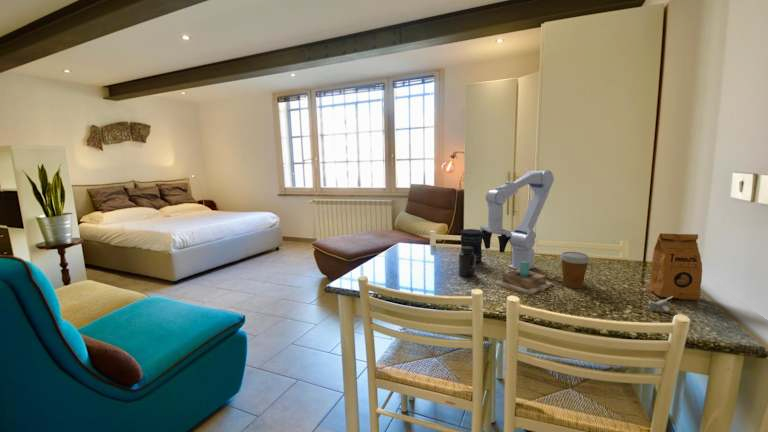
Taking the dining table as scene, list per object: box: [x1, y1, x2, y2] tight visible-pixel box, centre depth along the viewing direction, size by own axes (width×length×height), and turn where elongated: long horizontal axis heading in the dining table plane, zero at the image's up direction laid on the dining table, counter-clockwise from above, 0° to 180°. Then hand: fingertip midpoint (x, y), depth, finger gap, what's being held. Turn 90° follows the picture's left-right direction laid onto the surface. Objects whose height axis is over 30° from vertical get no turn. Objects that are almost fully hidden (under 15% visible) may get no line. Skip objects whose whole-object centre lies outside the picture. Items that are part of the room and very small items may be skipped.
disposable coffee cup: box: [559, 251, 590, 289], centre depth 127 cm, size 10×10×12 cm
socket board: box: [494, 269, 554, 296], centre depth 130 cm, size 16×14×4 cm
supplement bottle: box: [458, 246, 476, 278], centre depth 142 cm, size 7×7×12 cm
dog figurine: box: [647, 296, 674, 313], centre depth 105 cm, size 3×8×6 cm
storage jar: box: [460, 228, 483, 266], centre depth 160 cm, size 10×10×15 cm
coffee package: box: [648, 232, 703, 301], centre depth 115 cm, size 10×12×22 cm
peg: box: [520, 261, 530, 278], centre depth 129 cm, size 3×3×8 cm
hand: (494, 250), depth 143 cm, fingers open, 7 cm apart
